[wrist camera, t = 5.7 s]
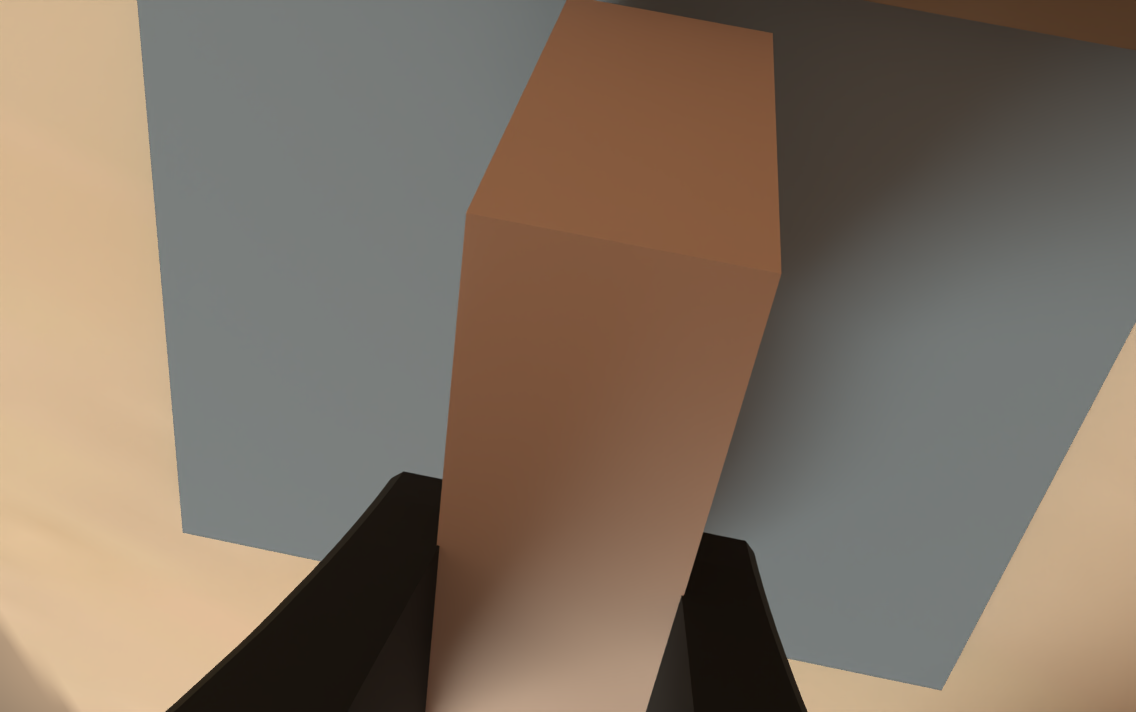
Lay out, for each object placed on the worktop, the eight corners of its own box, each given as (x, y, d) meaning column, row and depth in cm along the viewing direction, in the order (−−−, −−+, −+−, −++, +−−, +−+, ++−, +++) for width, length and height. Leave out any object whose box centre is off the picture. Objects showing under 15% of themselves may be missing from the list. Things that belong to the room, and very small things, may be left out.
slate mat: (937, 669, 16) (941, 690, 16) (193, 515, 17) (182, 532, 17) (1262, 38, 11) (1279, 49, 11) (141, -167, 11) (123, -162, 11)
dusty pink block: (619, 630, 16) (577, 946, 12) (486, 603, 16) (404, 907, 12) (772, 32, 10) (780, 273, 7) (569, -5, 10) (467, 212, 7)
